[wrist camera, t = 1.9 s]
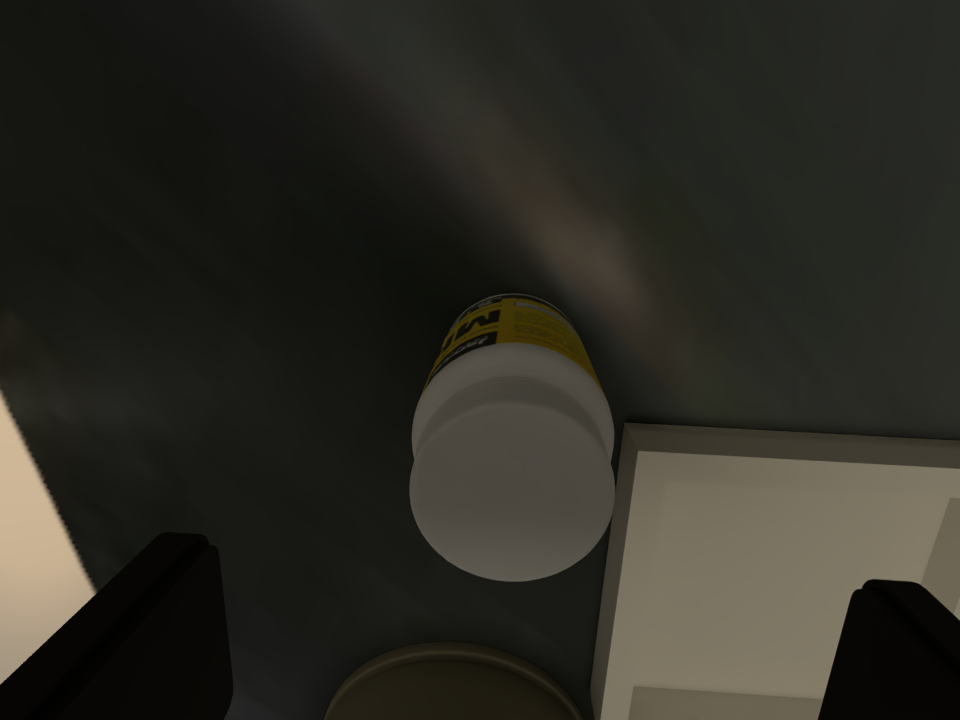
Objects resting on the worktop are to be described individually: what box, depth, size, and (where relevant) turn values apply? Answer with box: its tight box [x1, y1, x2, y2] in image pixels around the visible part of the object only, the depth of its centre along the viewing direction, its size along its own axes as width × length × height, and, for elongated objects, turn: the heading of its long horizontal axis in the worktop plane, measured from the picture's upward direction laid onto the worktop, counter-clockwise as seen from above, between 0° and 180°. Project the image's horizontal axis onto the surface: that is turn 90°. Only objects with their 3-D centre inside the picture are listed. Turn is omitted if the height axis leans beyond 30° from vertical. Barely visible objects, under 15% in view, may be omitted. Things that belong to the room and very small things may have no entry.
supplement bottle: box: [410, 293, 615, 581], centre depth 14 cm, size 5×5×8 cm
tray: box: [590, 423, 960, 720], centre depth 20 cm, size 12×12×2 cm
